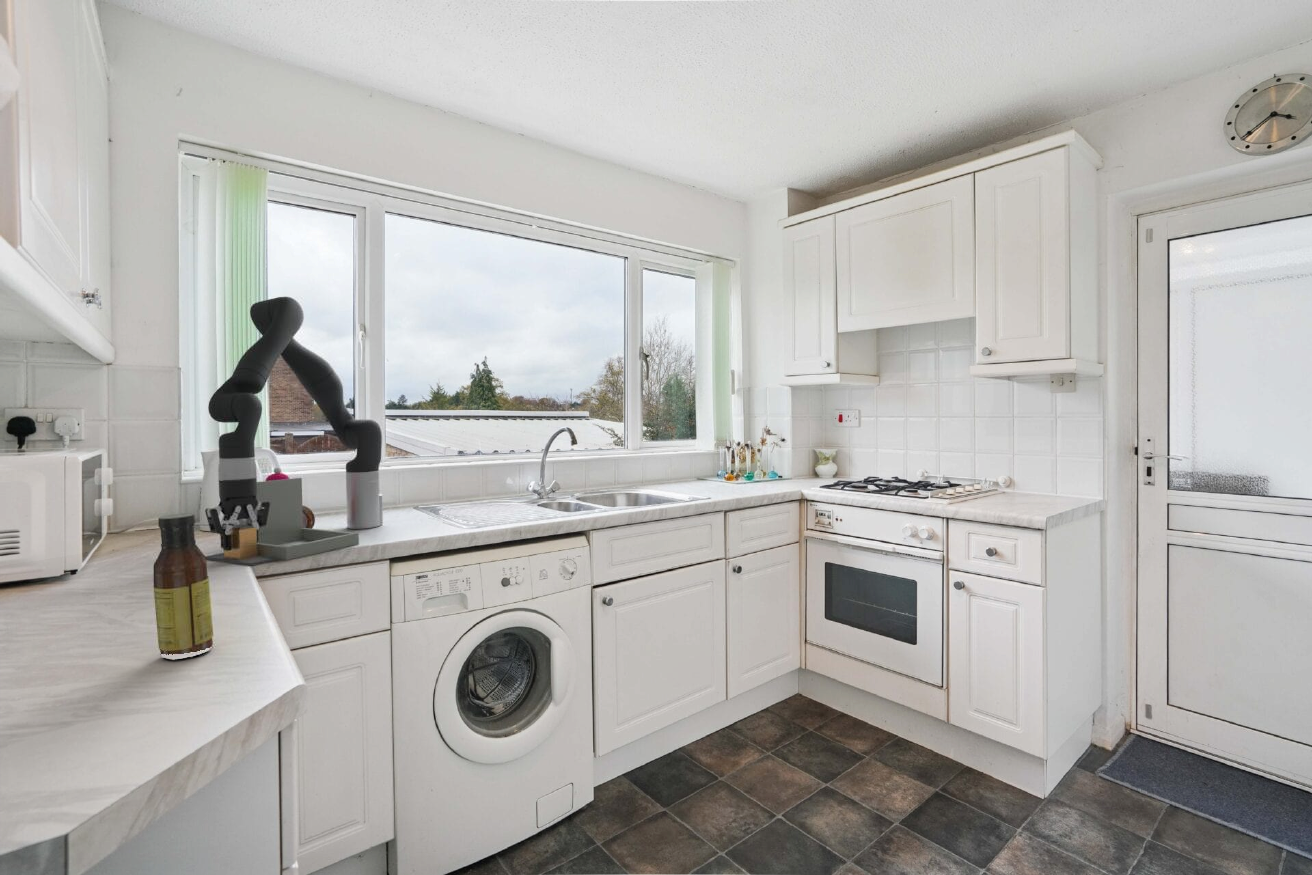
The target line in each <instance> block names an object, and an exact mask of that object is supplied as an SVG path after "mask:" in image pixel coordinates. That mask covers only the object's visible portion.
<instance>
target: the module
mask: <svg viewBox="0 0 1312 875" xmlns="http://www.w3.org/2000/svg"><path fill="white" fill-rule="evenodd" d="M230 535H231V539H232V550H229V551H225V550H223V553H224V558H230V559H237V560H242V559H247V558H252V557H257V531H256V527H254V526H250V525H233V527H232V529H231V532H230Z"/></svg>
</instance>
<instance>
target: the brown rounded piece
mask: <svg viewBox="0 0 1312 875" xmlns="http://www.w3.org/2000/svg"><path fill="white" fill-rule="evenodd" d="M302 507H303V528H311V529H314V526H315V523H316V517H315V515H314V512H313V511H312V510H311V509H310V508H309V507H308V506H306V505H302Z"/></svg>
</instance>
